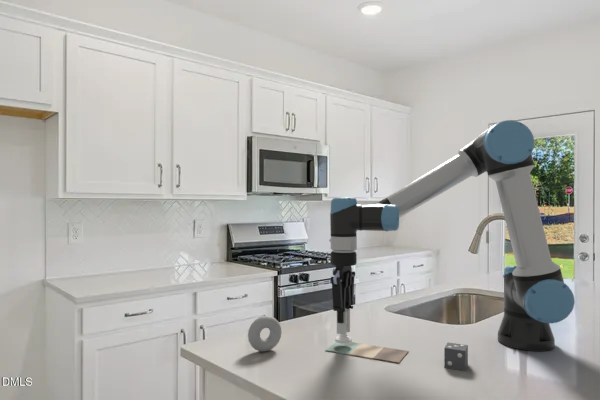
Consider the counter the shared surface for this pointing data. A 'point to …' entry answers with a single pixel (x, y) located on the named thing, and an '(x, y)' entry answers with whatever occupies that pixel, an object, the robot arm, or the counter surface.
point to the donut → (257, 327)
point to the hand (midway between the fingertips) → (343, 332)
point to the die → (456, 356)
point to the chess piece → (343, 338)
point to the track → (369, 351)
